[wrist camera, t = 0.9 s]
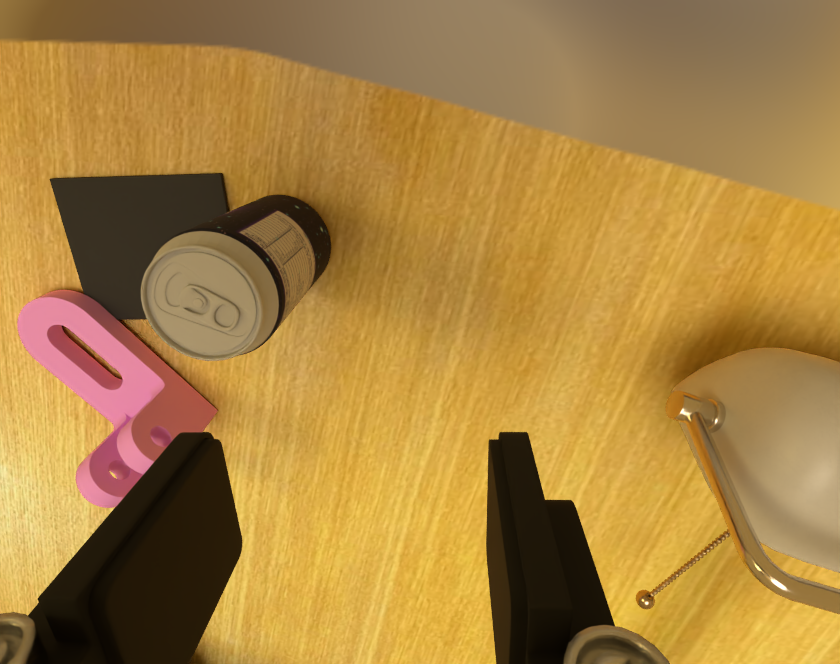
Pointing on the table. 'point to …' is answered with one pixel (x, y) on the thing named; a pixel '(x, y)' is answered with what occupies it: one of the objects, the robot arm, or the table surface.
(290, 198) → the beverage can
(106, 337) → the bracket
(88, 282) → the rubber mat
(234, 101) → the table surface
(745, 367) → the lamp
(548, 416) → the table surface
